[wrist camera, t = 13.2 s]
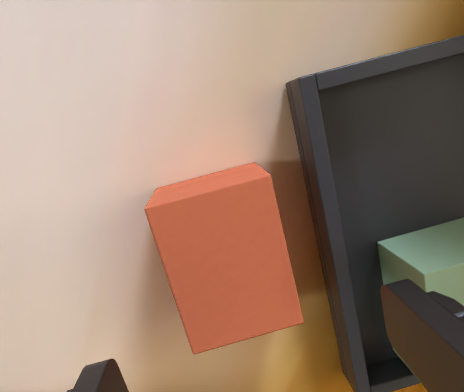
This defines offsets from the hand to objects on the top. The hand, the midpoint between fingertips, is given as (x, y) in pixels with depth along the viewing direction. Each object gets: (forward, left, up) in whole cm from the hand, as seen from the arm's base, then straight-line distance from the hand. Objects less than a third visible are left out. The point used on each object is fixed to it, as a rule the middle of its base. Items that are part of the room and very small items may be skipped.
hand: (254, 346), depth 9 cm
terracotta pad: (0, 0, -9) cm, 9 cm away
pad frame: (+11, -2, -9) cm, 14 cm away
